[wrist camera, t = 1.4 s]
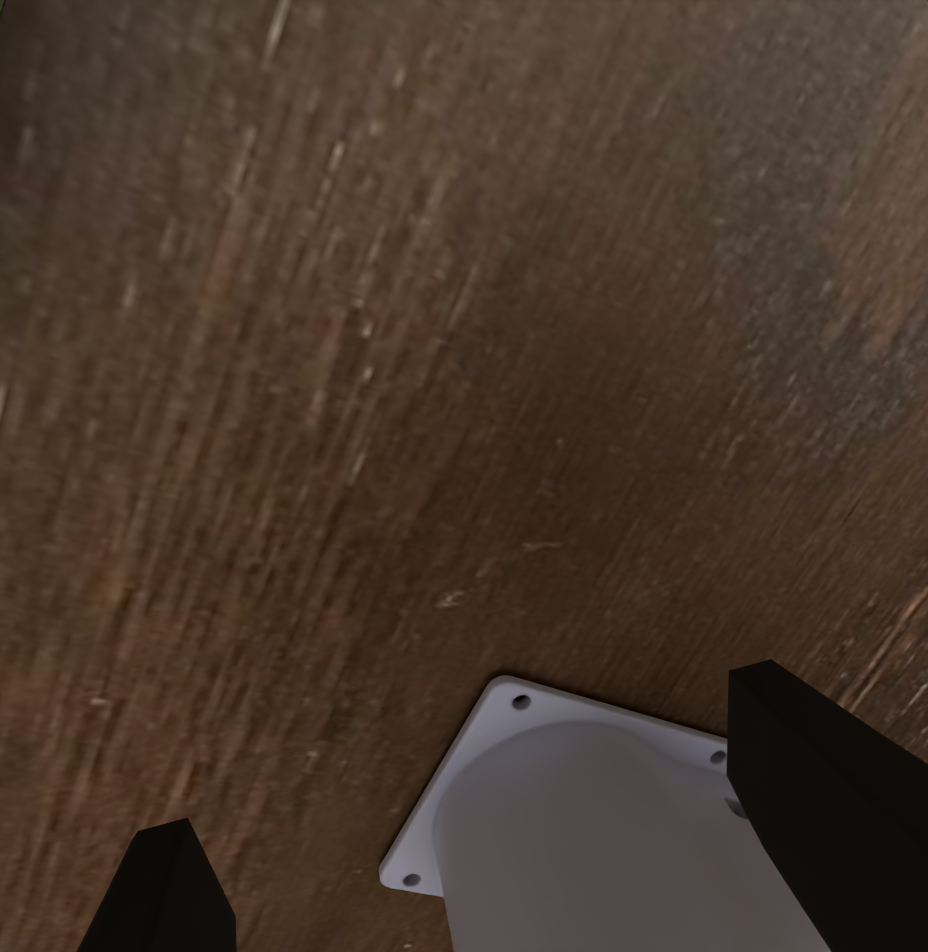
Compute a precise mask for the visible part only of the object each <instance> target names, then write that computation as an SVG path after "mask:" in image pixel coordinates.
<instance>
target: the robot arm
mask: <svg viewBox="0 0 928 952" xmlns="http://www.w3.org/2000/svg"><path fill="white" fill-rule="evenodd" d="M520 695H526V696H525V697H524V698H523V699H521V700H518V701H514V699H515V698H516V697H518V696H520ZM410 874H412V875H410ZM379 875H380V881H381V883H382V884H383V885H384V886H386V887H389V888H394V889H399V890H405V891H411V892H417V893H423V894H429V895H434V896H440V897H444V901H445V907H446V912H447V918H448V923H449V928H450V934H451V939H452V945H453V950H454V952H928V764H927V763H925V762H924V761H922V760H921V759H919V758H918V757H916V756H915V755H913V754H911V753H910V752H908V751H907V750H905V749H904V748H902V747H900V746H899V745H897V744H896V743H894V742H893V741H891V740H890V739H888V738H887V737H885V736H884V735H882V734H881V733H879V732H878V731H876V730H875V729H873V728H872V727H870V726H869V725H867V724H866V723H864V722H863V721H861V720H860V719H858V718H857V717H855V716H854V715H852V714H851V713H849V712H848V711H846V710H845V709H843V708H842V707H840V706H839V705H838V704H836V703H835V702H833V701H832V700H830V699H829V698H827V697H826V696H824V695H823V694H821V693H820V692H819V691H817V690H816V689H814V688H813V687H811V686H810V685H808V684H807V683H805V682H804V681H802V680H801V679H800V678H798V677H797V676H795V675H794V674H792V673H791V672H789V671H788V670H786V669H785V668H783V667H782V666H780V665H779V664H777V663H776V662H774V661H773V660H771V659H770V660H767V661H763V662H759V663H756V664H752V665H748V666H745V667H741V668H737V669H734V670H730V671H729V687H728V730H727V739H726V738H723V737H719V736H716V735H712V734H709V733H705V732H702V731H699V730H695V729H692V728H688V727H685V726H681V725H678V724H675V723H671V722H668V721H664V720H661V719H657V718H654V717H651V716H647V715H644V714H640V713H637V712H633V711H630V710H627V709H623V708H620V707H616V706H613V705H609V704H606V703H603V702H599V701H596V700H592V699H589V698H586V697H582V696H579V695H575V694H572V693H568V692H565V691H562V690H558V689H555V688H551V687H548V686H544V685H541V684H538V683H534V682H531V681H527V680H524V679H520V678H517V677H514V676H508V675H503V676H498V677H496V678H494V679H493V680H491V681H490V682H489V684H488V685H487V686H486V688H485V689H484V691H483V693H482V694H481V696H480V698H479V700H478V701H477V703H476V705H475V706H474V708H473V710H472V711H471V713H470V715H469V716H468V718H467V720H466V721H465V723H464V725H463V726H462V728H461V730H460V731H459V733H458V735H457V737H456V738H455V740H454V742H453V743H452V745H451V747H450V748H449V750H448V752H447V753H446V755H445V757H444V758H443V760H442V762H441V763H440V765H439V767H438V769H437V770H436V772H435V774H434V775H433V777H432V779H431V780H430V782H429V784H428V785H427V787H426V789H425V790H424V792H423V794H422V795H421V797H420V799H419V800H418V802H417V804H416V806H415V807H414V809H413V811H412V812H411V814H410V816H409V817H408V819H407V821H406V822H405V824H404V826H403V827H402V829H401V831H400V832H399V834H398V836H397V837H396V839H395V841H394V843H393V844H392V846H391V848H390V849H389V851H388V853H387V854H386V856H385V858H384V859H383V861H382V863H381V864H380V867H379ZM77 952H237V948H236V917H235V914H234V912H233V910H232V908H231V906H230V904H229V902H228V900H227V898H226V896H225V894H224V891H223V889H222V887H221V885H220V883H219V881H218V879H217V877H216V875H215V873H214V871H213V869H212V867H211V865H210V863H209V860H208V858H207V856H206V854H205V852H204V850H203V848H202V846H201V844H200V842H199V840H198V838H197V836H196V834H195V832H194V830H193V827H192V825H191V823H190V821H189V819H188V818H185V819H181V820H177V821H174V822H170V823H166V824H162V825H159V826H155V827H151V828H148V829H144V830H140V831H138V832H137V833H136V835H135V836H134V838H133V839H132V841H131V843H130V845H129V847H128V849H127V851H126V853H125V855H124V857H123V859H122V861H121V863H120V865H119V867H118V870H117V872H116V874H115V876H114V878H113V880H112V882H111V884H110V886H109V888H108V890H107V892H106V894H105V896H104V898H103V900H102V902H101V904H100V906H99V908H98V910H97V912H96V914H95V916H94V918H93V920H92V922H91V924H90V926H89V928H88V930H87V932H86V934H85V936H84V938H83V940H82V942H81V944H80V946H79V948H78V950H77Z"/></svg>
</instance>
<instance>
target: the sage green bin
mask: <svg viewBox="0 0 928 952" xmlns="http://www.w3.org/2000/svg"><path fill="white" fill-rule="evenodd" d="M3 2H4V0H0V14H1V10H2V6H3Z"/></svg>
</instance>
